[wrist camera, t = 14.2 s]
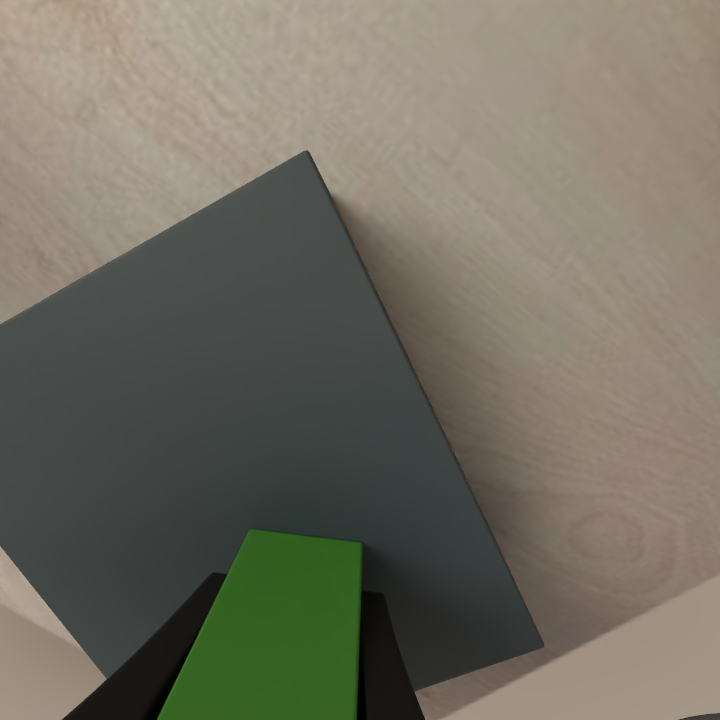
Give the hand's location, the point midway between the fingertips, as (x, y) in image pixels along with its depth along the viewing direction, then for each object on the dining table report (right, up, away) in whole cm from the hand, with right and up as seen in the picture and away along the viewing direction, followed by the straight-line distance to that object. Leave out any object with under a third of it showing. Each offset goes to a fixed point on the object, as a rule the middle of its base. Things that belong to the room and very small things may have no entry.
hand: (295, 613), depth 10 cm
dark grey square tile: (-2, +3, +5) cm, 6 cm away
